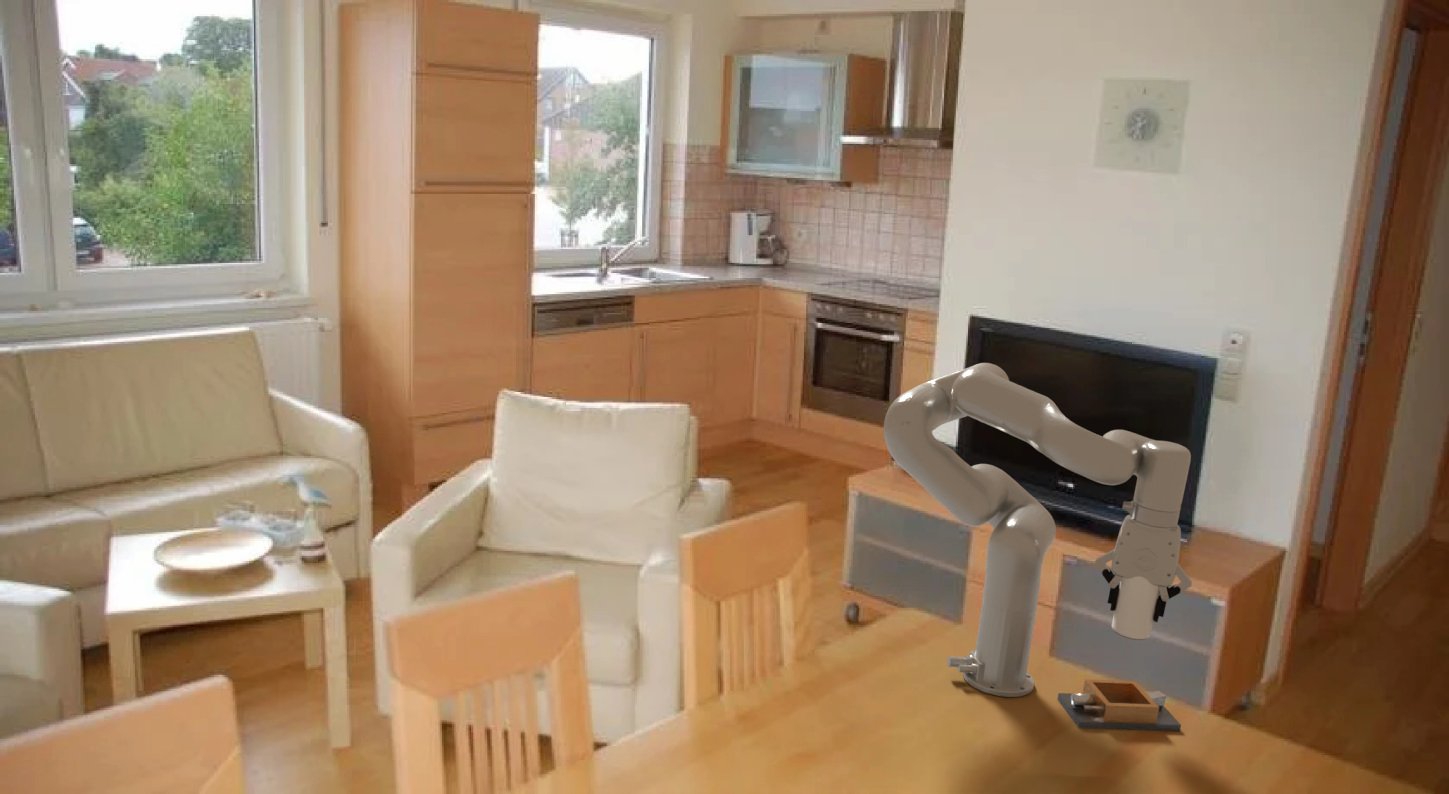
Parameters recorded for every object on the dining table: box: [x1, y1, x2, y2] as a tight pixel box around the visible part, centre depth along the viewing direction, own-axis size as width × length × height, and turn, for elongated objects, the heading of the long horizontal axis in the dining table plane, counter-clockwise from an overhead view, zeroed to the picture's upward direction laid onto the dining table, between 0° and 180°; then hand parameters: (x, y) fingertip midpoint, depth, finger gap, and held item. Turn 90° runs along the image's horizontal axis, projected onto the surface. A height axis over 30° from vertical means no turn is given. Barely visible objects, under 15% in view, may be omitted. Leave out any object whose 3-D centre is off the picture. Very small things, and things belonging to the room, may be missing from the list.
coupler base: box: [1057, 678, 1182, 732], centre depth 203 cm, size 18×10×4 cm, turn 95°
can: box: [1111, 576, 1160, 641], centre depth 199 cm, size 6×6×12 cm
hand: (1134, 612), depth 199 cm, fingers closed on can, 6 cm apart
